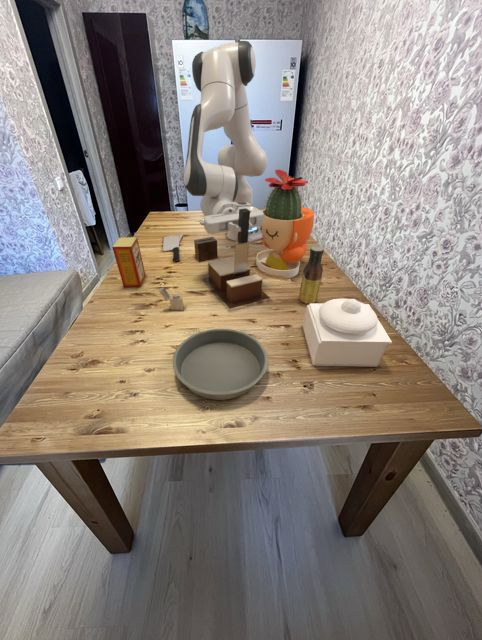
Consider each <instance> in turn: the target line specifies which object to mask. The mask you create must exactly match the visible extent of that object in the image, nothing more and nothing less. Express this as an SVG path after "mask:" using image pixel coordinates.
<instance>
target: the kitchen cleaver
mask: <svg viewBox="0 0 482 640" xmlns="http://www.w3.org/2000/svg"><path fill="white" fill-rule="evenodd" d="M183 237H184V234H181V233H180V234H173V235H169V236H168V235H167V236H164V237H163V244H162V252H169V251H172V253H173V254H172V260H171V261H172V262H173V263H178V262H179V261H180V242H181V240H182V238H183Z"/></svg>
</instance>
